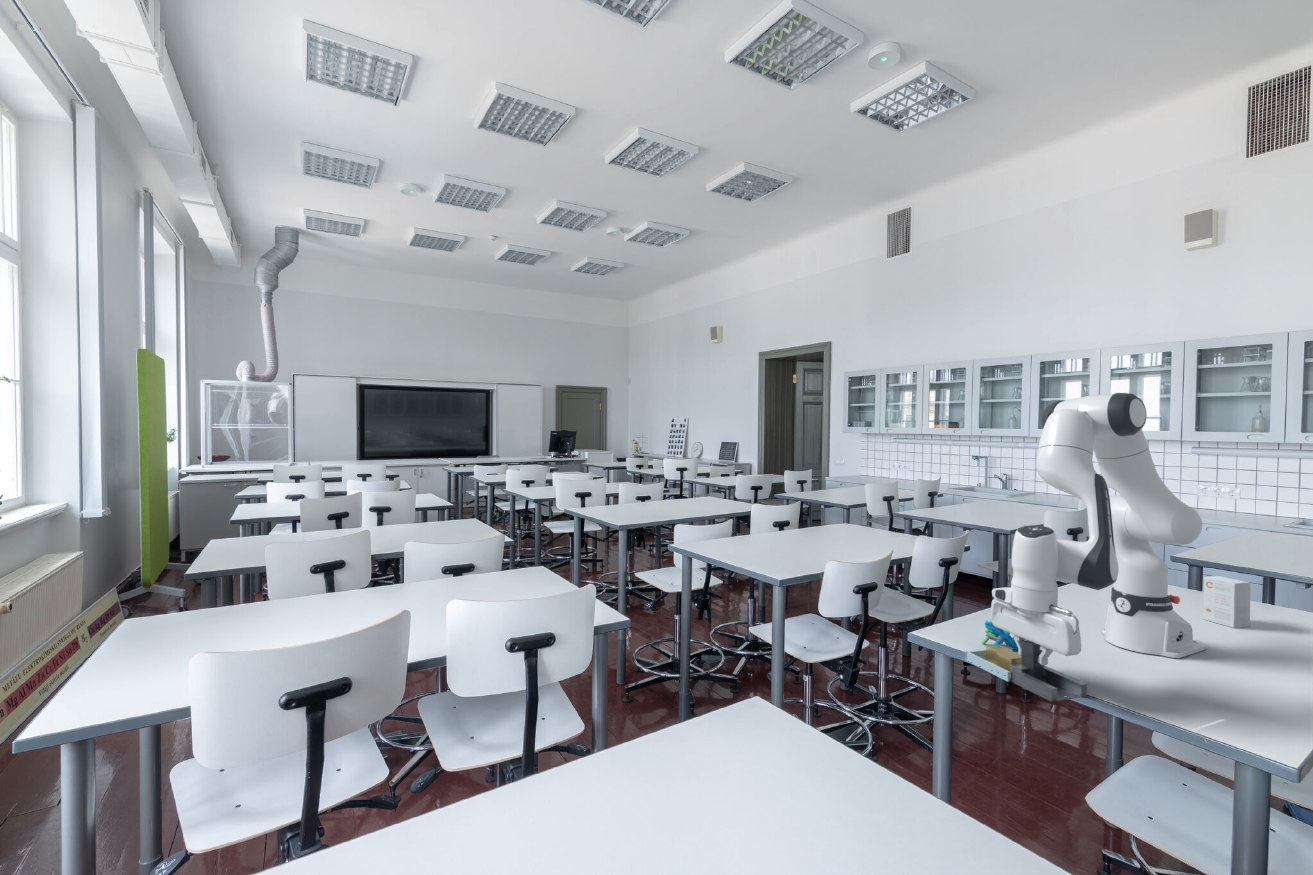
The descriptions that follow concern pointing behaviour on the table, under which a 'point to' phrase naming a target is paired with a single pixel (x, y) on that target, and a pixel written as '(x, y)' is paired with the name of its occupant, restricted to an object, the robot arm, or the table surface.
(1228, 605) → the small box
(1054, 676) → the slot rail
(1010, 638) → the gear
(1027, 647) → the dark grey stepped block
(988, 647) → the tan block
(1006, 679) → the tray
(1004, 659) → the chip
